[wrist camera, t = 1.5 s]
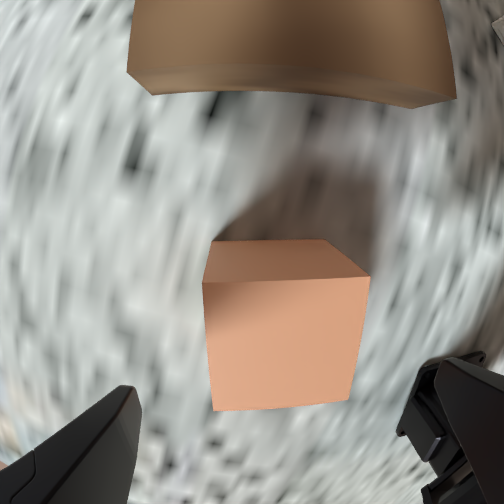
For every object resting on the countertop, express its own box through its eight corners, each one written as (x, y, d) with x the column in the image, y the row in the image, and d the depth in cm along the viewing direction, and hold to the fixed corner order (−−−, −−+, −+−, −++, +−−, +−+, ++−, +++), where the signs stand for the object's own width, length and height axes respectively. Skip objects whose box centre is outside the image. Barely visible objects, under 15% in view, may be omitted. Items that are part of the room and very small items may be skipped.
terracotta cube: (323, 238, 14) (370, 276, 9) (316, 335, 15) (348, 399, 10) (211, 240, 13) (202, 282, 8) (217, 340, 15) (213, 410, 10)
